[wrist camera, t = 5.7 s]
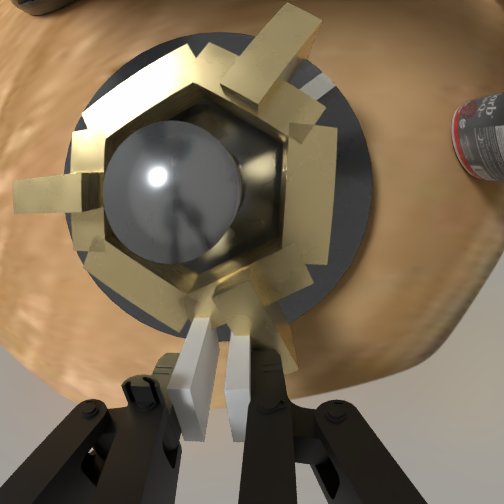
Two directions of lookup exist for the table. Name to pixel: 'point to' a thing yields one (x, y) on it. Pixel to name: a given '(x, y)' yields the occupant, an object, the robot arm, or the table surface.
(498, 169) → the pill bottle
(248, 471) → the robot arm
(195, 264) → the hub plate
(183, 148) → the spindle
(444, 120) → the table surface
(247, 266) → the taped hex socket base
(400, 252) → the table surface
